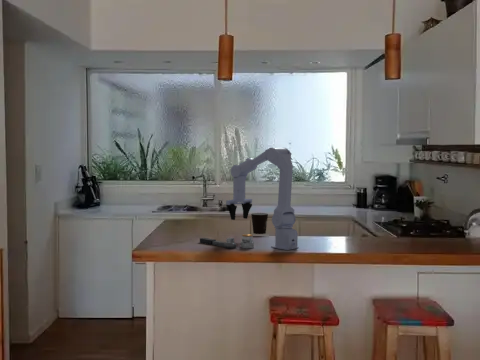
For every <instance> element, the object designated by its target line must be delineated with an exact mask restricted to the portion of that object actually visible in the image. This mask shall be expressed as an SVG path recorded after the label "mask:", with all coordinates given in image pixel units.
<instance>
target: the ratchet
mask: <svg viewBox="0 0 480 360" xmlns="http://www.w3.org/2000/svg"><path fill="white" fill-rule="evenodd" d="M199 243H200V244H204V243H206V245H210V246H211V245H212V246H217V247H221V246H222V247H223V248H224V249H229V250H232V249H237V243H236V242H235V237H227V238H226V241H220V240H217V239H213V238H209V237H199Z"/></svg>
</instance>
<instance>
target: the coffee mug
mask: <svg viewBox="0 0 480 360" xmlns="http://www.w3.org/2000/svg"><path fill="white" fill-rule="evenodd" d="M250 216H251V224H252V225H251V226H252V231H253V232H252V233H253V234H255V235H265V234H266V233H267V228H268V227H267V226H268V218H269V217H268V216H269V213H267V212H266V213H265V212H252V213H251V215H250Z"/></svg>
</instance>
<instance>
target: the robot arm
mask: <svg viewBox="0 0 480 360" xmlns="http://www.w3.org/2000/svg"><path fill="white" fill-rule="evenodd" d="M267 161H268V162H270V163H271V164H273V165H275V166H276V167H277V169H279V178H278V179H279V180H278V196H277V205H276V207H275V208H274V210H273V214H272V217H271V224H272V226H274V229H275V233H274V234H275V236H274V238H275V239H274V243H275V245H271V246H270V247H271V248H274V249H279V250H285V251H288V250H289V251H290V250H295V249H298V248H299V247H300V246H298V237H299V236H298V231H297V229H294V228H293V227H294V224H295V222H296V215H295V209H294V208H293V206H291V204H292V203H291V202H292V189H293V188H292V183H293V161H292V152H291V151H290V150H289V149H288V148H287V147H269V148H268V149H264V151H263V152H262V153H260V154H259V155H257V156H255V157H254V158H252V157H247V158H245V160H244V161H243V162H239V164H238V165H237V164H233V166H231V168H230V174H231V176H232V177H233V178H232V182H233V183H232V185H233V186H232V188H233V194H232V195H233V196H232V197H233V199H229V200H226V201H225V205H226V208H227V210H228V212H229V215H230V220H231V221H232V220H233V221H235V220H236V212H237V208H238V205H241V207H242V217H243V219H244V220H247V219H248V218H249V213H250V210H251V208H252V207H253V199H252V198H246V180H247V176H248V174H249V173H252V172H253V171H254V170H256V169H257V168H258V165H261V164H262V163H266V162H267Z"/></svg>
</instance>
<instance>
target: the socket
mask: <svg viewBox="0 0 480 360" xmlns="http://www.w3.org/2000/svg"><path fill="white" fill-rule="evenodd" d="M240 247H241V248H242V249H254V248H255V245H254V241H253V234H251V233H243V234H241V241H240Z"/></svg>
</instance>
